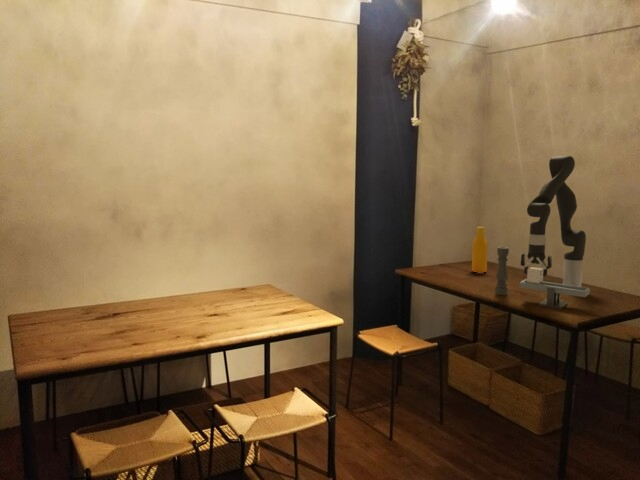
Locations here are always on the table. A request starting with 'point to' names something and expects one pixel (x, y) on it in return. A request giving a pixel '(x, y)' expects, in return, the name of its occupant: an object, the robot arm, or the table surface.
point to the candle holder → (502, 271)
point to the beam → (557, 288)
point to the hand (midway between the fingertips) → (535, 275)
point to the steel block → (535, 275)
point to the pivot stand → (553, 300)
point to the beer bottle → (479, 251)
